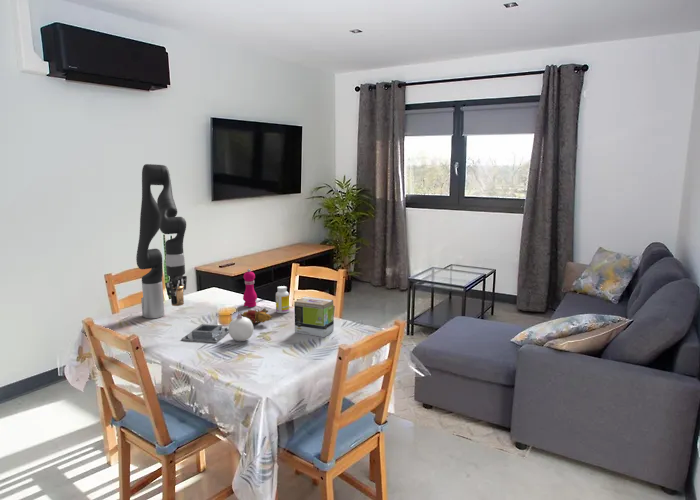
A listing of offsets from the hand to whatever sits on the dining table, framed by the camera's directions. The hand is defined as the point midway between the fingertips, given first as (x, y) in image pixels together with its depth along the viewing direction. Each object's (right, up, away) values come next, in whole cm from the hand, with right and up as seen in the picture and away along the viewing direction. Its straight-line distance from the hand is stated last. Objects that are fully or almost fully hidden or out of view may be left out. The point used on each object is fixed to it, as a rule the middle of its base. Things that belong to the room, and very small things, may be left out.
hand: (177, 302), depth 213 cm
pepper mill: (+22, -7, +48) cm, 53 cm away
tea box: (+58, -14, +9) cm, 61 cm away
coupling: (+12, -15, +4) cm, 19 cm away
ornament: (+28, -16, -2) cm, 32 cm away
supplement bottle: (+40, -9, +38) cm, 56 cm away
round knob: (0, -1, 0) cm, 1 cm away
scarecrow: (+30, -12, +21) cm, 38 cm away
